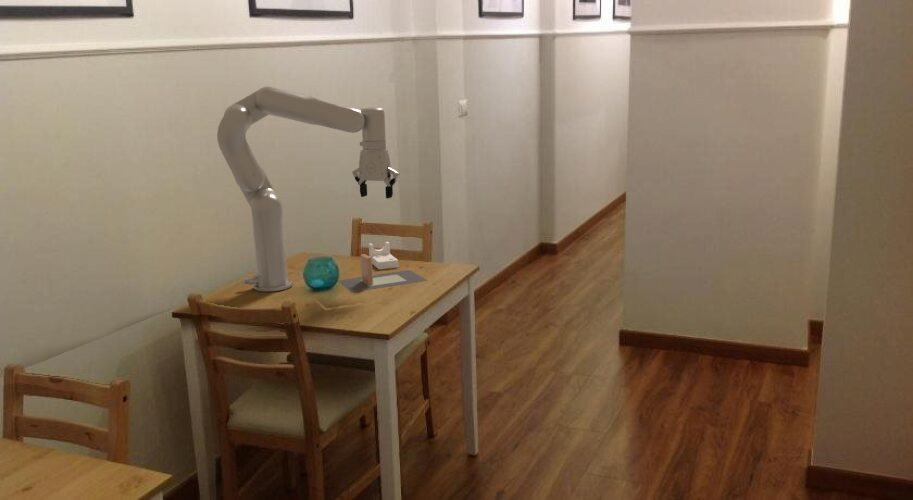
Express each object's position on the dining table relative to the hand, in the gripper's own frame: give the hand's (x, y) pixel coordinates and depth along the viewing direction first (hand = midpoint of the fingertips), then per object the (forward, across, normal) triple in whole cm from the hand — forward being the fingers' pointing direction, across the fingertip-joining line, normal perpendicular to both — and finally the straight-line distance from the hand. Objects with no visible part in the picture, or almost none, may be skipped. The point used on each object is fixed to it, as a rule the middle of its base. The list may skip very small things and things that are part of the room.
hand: (376, 197), depth 276 cm
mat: (+27, +5, -7) cm, 29 cm away
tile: (+27, +2, -11) cm, 29 cm away
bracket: (+28, -5, +12) cm, 31 cm away
